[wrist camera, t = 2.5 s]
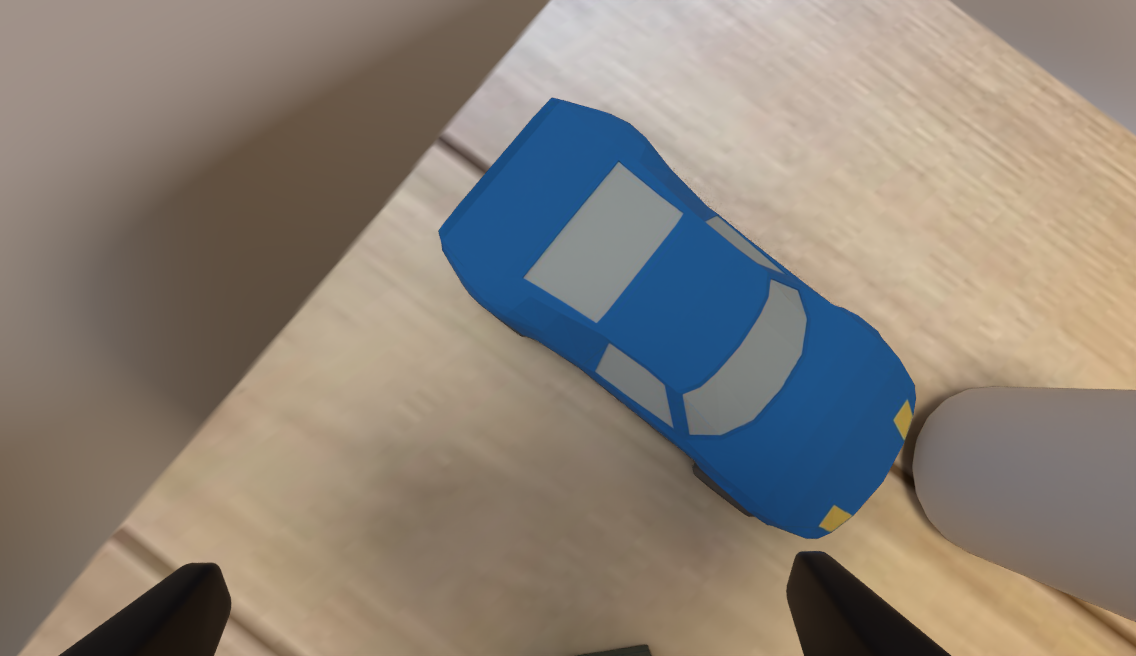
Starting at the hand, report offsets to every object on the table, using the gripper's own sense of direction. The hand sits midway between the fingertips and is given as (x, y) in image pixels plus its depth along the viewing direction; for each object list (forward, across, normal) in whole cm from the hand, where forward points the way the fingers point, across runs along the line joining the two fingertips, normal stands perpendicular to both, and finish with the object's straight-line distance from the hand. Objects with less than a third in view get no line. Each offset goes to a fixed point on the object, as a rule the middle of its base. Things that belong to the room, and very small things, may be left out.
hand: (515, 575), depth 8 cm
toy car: (+16, -6, +3) cm, 17 cm away
